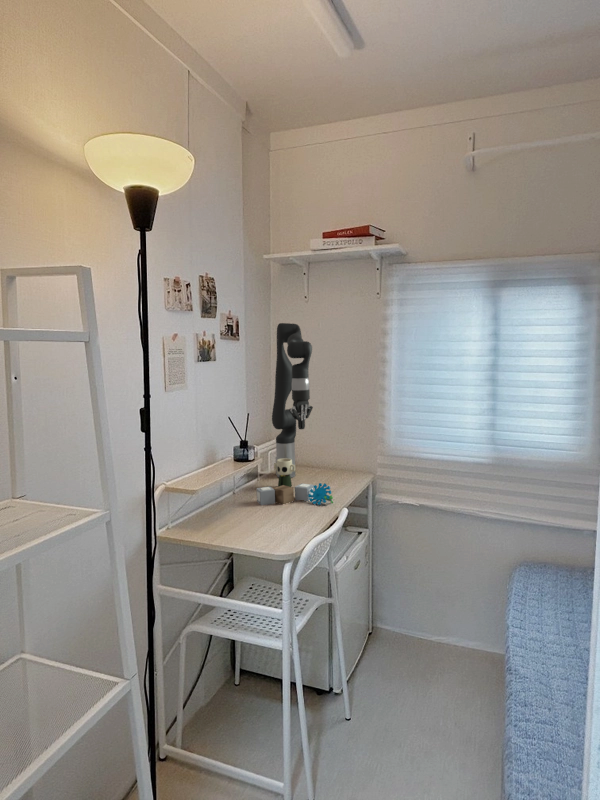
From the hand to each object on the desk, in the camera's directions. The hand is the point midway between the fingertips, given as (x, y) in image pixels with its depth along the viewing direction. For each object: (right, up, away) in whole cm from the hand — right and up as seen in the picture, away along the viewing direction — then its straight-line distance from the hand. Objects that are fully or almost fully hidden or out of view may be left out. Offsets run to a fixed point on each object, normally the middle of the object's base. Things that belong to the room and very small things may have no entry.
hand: (301, 429), depth 228 cm
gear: (+8, -30, -9) cm, 32 cm away
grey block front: (-15, -30, -6) cm, 34 cm away
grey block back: (+1, -30, -3) cm, 30 cm away
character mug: (-8, -28, +16) cm, 33 cm away
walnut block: (-7, -30, -6) cm, 32 cm away
